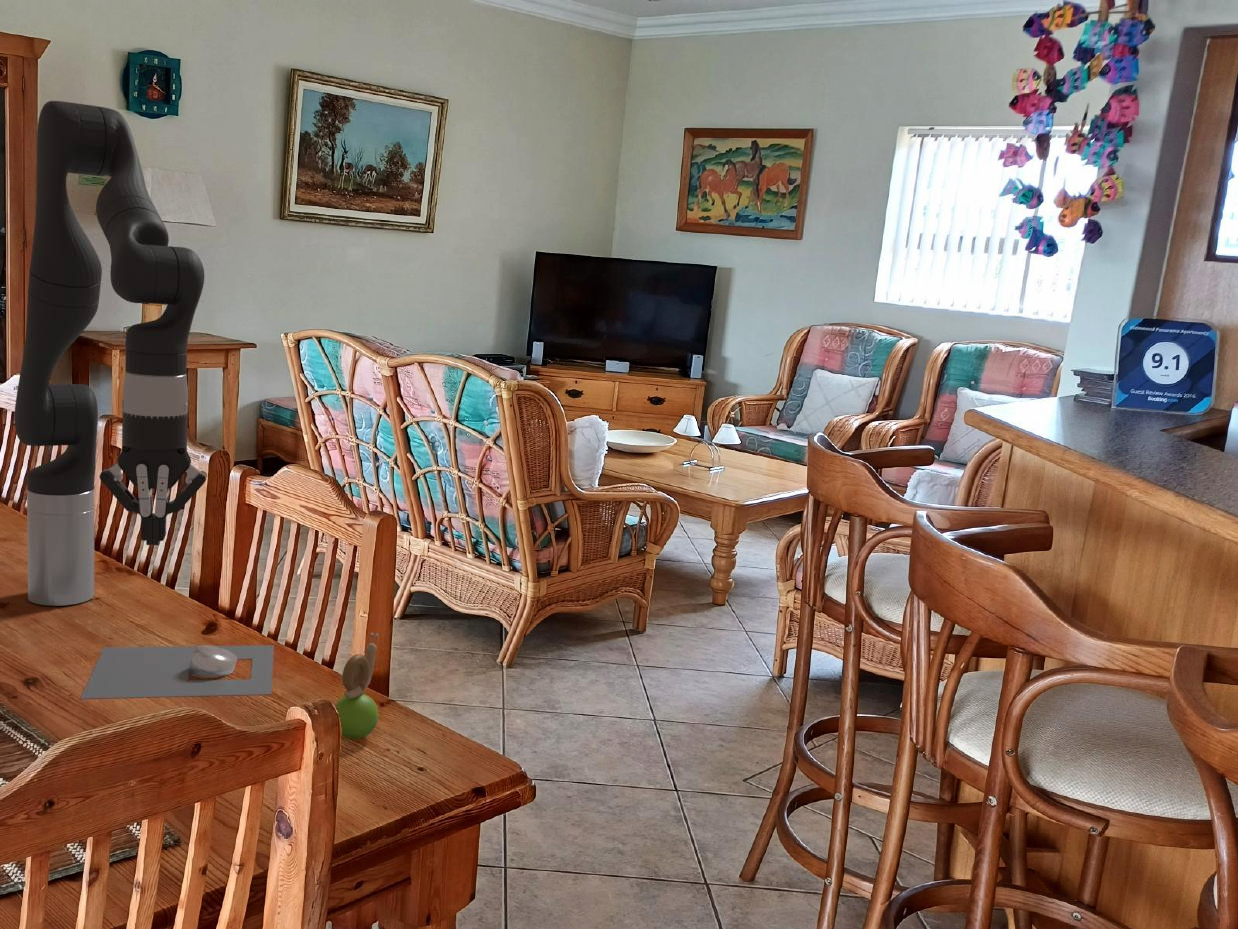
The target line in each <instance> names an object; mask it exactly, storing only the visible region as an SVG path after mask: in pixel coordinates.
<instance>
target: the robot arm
mask: <svg viewBox="0 0 1238 929" xmlns="http://www.w3.org/2000/svg"><path fill="white" fill-rule="evenodd" d="M36 136H37V137H36V176H35V177H36V182H35V183H36V185H35V186H36V187H35V188H36V189H35V190H36V193H35V194H36V195H35V196H36V198H35V217H34V229H33V239H32V245H31V246H32V247H31V254H30V255H31V256H30V263H29V273H28V285H27V301H26V302H27V304H26V323H25V324H26V326H25V327H26V329H25V339H24V348H23V355H22V361H21V366H20V373H19V380H18V384H17V391H16V396H15V397H16V398H15V406H14V429H15V433H16V436H17V438H18V440H19V441H20V443H22V444H24V445H26V446H29V447H30V446H31V447H53V446H66V449H65V450H64V452H63V453H61V454H60V455H59V456H57V457H56V458H53V460H50V461H48V462H46V463H44V464H40V465H38V466H36V467H34V468H32V469H30V470H29V471H28V473H27V476H26V508H27V509H26V510H27V511H26V512H27V513H26V514H27V516H26V517H27V518H26V520H27V528H26V530H27V599H28V600H27V601H29V602H30V603H32V604H36V605H41V606H49V607H51V606H52V607H53V606H55V607H56V606H59V607H60V606H61V607H62V606H69V605H70V606H71V605H77V604H82V603H85V602H87V601H90V600H92V599H93V598H94V596H95V475H96V463H97V462H96V461H97V460H96V456H97V453H96V452H97V436H98V424H99V423H98V422H99V419H98V418H99V412H98V402H97V396H96V394H95V392H94V390H93V389H92V387H90V386H89V385H86V384H81V383H79V384H78V383H75V384H74V383H73V384H71V383H70V384H69V383H67V384H66V383H61V384H60V383H58V384H55V383H54V384H53V383H52V384H51V383H50V380H51V378H52V374H53V372H54V370H55V367H56V365H57V364H58V363H59V361H60V359H61V357H62V356H63V355H64V354H65V352H66V351H67V350H68V348H70V346H71V345H72V344H73V343H74V342H75V341H76V340H78V338H79V337H80V336H81V334H82V333H83V332H85V329H87V327H88V326H89V325H90V323H91V322H92V321H93V319H94V318H95V316H96V314H97V312H98V309H99V304H100V303H99V302H100V294H101V286H102V276H103V267H102V264H101V260H100V258H99V255H98V253H97V252H96V250H95V247H94V246H93V244H92V242H91V240H90V239H89V237H88V236H87V234H86V233H85V231H84V229H83V228H82V225H81V224H80V222H79V220H78V219H77V216H76V215H75V212H74V209H73V208H72V205H71V203H70V200H69V196H68V190H67V178H68V174H75V175H76V174H77V175H86V176H97V177H110V179H109V180H108V181H106V183H105V185H103V187H102V189H100V192H99V194H98V195H97V196H98V197H97V199H96V207H95V211H96V218H97V221H98V224H99V226H100V228H101V230H102V233H103V235H104V236H105V239H106V240H107V243H108V245H109V249H110V250H109V251H110V257H111V258H110V260H111V261H110V282H111V283H110V284H111V287H112V290H113V291H114V292H115V294H116V295H118V297H120V298H121V299H123V300H124V301H126V302H127V303H128V302H129V303H132V304H133V303H134V304H150V305H151V304H152V305H166V307H165V309H164V310H163V313H162V314H161V315H160V317H159V318H156V319H153V320H149V321H144V322H139V323H134V324H132V325H131V326H129V327H128V329H127V330H126V333H125V354H124V355H125V365H124V380H123V386H122V397H121V398H122V399H121V408H122V411H121V412H122V414H121V415H122V416H121V417H122V420H121V421H122V423H121V424H122V426H121V429H122V430H121V450H120V453H119V455H118V456H117V458H116V462H115V463H114V464H113V465H111V466H109V467H105V468H104V469H102V471H101V472H100V474H99V480H100V481H101V482H102V483H103V484H104V485H105V487H106V488H107V489H108V490H109V491H110V493H111V494H112V495H113V496H114V498H115V499H116V500H117V501H118V503H119V504H120V505H121V506H122V507H123V508H124V509H125V510H126V512H130V513H131V512H132V513H136V514H138V515H139V516H140V538H141V541H145V543H146V546H160V544H161V542H164V541H165V538H166V535H167V516H168V515H171V514H173V513H179V512H180V511H181V509H182V508H183V507H185V505H186V504H187V503H188V502H189V501H190V500H191V499H192V498H193V496H194V495H195V494H196V493H197V492H198V491H199V490H200V488H202V486H204V484H205V483H206V481H207V477H208V473H207V472H206V471H205V470H204V471H203V470H202V471H201V470H199V469H198V468H197V467H195V466H194V465H193V464H192V459H191V456H190V455H189V453H188V423H189V422H188V419H189V417H188V416H189V387H188V378H187V377H188V376H187V370H188V367H187V366H188V364H187V362H188V360H187V359H188V353H187V352H188V341H189V336H190V332H191V328H192V324H193V320H194V316H195V313H196V310H197V308H198V305H199V301H200V299H201V296H202V292H203V288H204V286H205V285H204V284H205V268H204V265H203V262H202V261H201V258H200V257H199V256H198V253H197V252H195V251H194V250H193V249H191V248H188V247H183V246H170V245H169V242H170V241H169V240H170V239H169V233H168V229H167V227H166V225H165V223H164V222H163V220H162V218H161V216H160V213H159V212H158V210H157V209H156V206H155V205H154V202H153V201H152V198H151V197H150V195H149V191H148V189H147V186H146V182H145V178H144V175H143V169H142V165H141V163H140V161H141V160H140V157H139V154H138V151H137V147H136V144H135V141H134V138H133V134H132V131H131V128H130V126H129V124H128V122H127V120H126V119H125V117H124V116H123V115H122V114H121V113H120V112H119V111H118V110H115V109H113V108H110V107H109V108H108V107H104V106H99V105H98V106H97V105H93V104H92V105H91V104H84V103H78V102H68V101H64V100H63V101H62V100H49V101H47V102H45V103H44V105H42V107H41V110H40V114H39V116H38V123H37V132H36ZM168 245H169V246H168ZM122 472H123V473H124V474H125V476H126V478H127V479H128V480H129V482H130V483H131V484H132V485H133V486H134V487H136V488H137V492H138V493H137V494H138V499H137V498H136V497H135V495H134V494H133V493H132V492H131V491H130V490H129V489H128V487H127V486H126V485H125V484H124V483H123V482H122V480H123V474H122ZM185 473H186V475H187V476H186V478H185V483H186V484H187V485H186V486H185V487H184V488H182V490H181V491H180V492H179V494H177V496H175V498H174V499H173V500H171V501H169V494H170V489H172V488H173V487H174V486H175V485H176V484H177V483H178V482H179V481H180V479H181V478H182V477H183V476H184V474H185ZM153 489H154V490H156V491H155V492H156V493H155V506H154V508H153Z"/></svg>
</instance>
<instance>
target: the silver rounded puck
mask: <svg viewBox="0 0 1238 929" xmlns="http://www.w3.org/2000/svg"><path fill="white" fill-rule="evenodd" d="M196 646H197V647H196V648H195V650H194V653H193V656H192V659H191V661H190V664H189V667H188V673H189V676H191V677H195V678H200V679H202V678H203V679H212V678H213V679H214V678H215V679H216V678H220V677H225V676H228V675H230V674H232V673H233V672H234V670H235V667H236V665H237V662H238V659H237V657H236V655H234V654H233V653H232V652H230V651H228V650H226V649H223V648H220V647H217V646H218V645H211V644H202V645H200V644H199V645H196Z"/></svg>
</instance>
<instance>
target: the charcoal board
mask: <svg viewBox="0 0 1238 929" xmlns="http://www.w3.org/2000/svg"><path fill="white" fill-rule="evenodd" d="M197 646H198V645H196V646H194V645H191V646H189V645H188V646H187V645H186V646H185V645H184V646H182V645H181V646H179V645H178V646H119V647H118V646H112V647H111V646H109V647H108V646H107V647H105V646H103V648H102V651H101V652H100V654H99V657H98V659H97V661H96V664H95V665H94V667H93V670H92V672H91V674H90V677H89V678H88V681H87V683H86V685H85V688H84V689H83V691H82V694H81V696H80V698H79V699H80V700H102V699H140V698H141V699H143V698H181V697H183V698H185V697H186V698H187V697H188V698H189V697H190V698H191V697H229V696H235V697H236V696H267V695H269V696H270V695H272V694H273V693H272V692H273V691H272V689H273V672H274V671H273V670H274V650H275V645H266V644H265V645H262V644H261V645H216V646H217V647H220V648H223V649H226V650H228V651H230V652H232V653H233V654H234V655H236V657H237V660H251V670H250V678H249V679H203V680H202V679H200V680H199V679H198V680H194V679H193V680H189V677H190V674H189V673H188V667H189V664H190V661H191V659H192V656H193V653H194V650H195V648H196V647H197Z"/></svg>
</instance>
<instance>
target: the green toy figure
mask: <svg viewBox="0 0 1238 929" xmlns="http://www.w3.org/2000/svg"><path fill="white" fill-rule="evenodd" d="M368 636H369V638H370V643H368V644H367V645H366V648H365V652H366V655H363V654H361V653H360V654H359V653H358V654H354V655H352V656H351V657H350V658H349V659H347V661H346V662H345V665H344V668H343V670H342V673H341V674H342V676H341V681H342V686H343V687H344V689H345V690H346V691H344V693H343V695H344V696H342V697H341V698H339V699H338V700H337V702H336V703H335V704H334V706H336V708H337V711H338V712H339V717H340V722H341V727H342V736H341V737H343V738H345V739H347V740H360V739H363V738H365V737H367V736H369V735H370V734H372V732H373V731H374V730H375V729H376V727H377V725H378V723H379V722H378V721H379V715H380V714H379V708H378V706H377V703H376V702H375V701H374V699H373V698H372V697H370V696H369V695H367V694H364V692H365V691H366V689H367V688H368V686H369V685H370V684H371V680H372V677H373V673H374V668H375V663H376V653H377V651H378V646H377V642H378V641H377V640H378V638H379V634H378V633H373V632H371V633H369V635H368ZM373 638H375V643H373V641H372V640H373Z"/></svg>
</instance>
